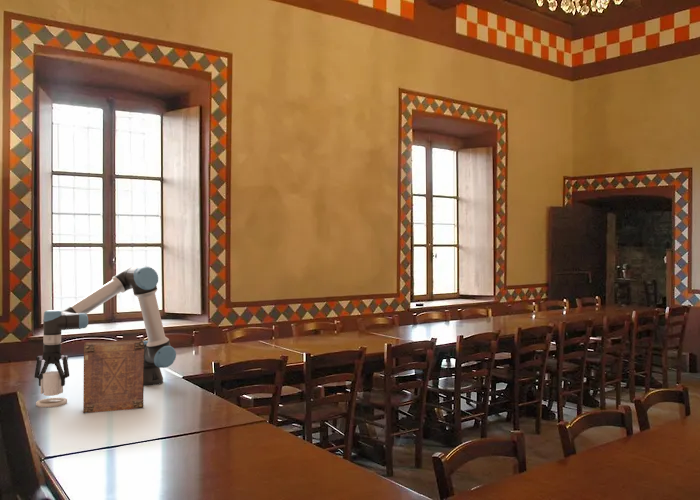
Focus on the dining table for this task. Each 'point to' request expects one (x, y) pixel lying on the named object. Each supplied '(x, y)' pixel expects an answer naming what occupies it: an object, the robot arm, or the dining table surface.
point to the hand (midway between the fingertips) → (51, 392)
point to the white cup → (51, 383)
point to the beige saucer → (51, 402)
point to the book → (113, 375)
